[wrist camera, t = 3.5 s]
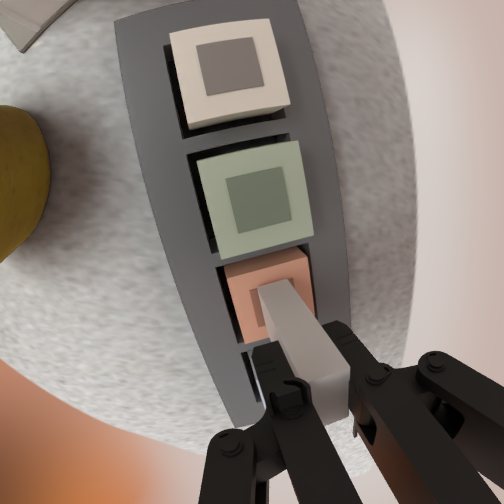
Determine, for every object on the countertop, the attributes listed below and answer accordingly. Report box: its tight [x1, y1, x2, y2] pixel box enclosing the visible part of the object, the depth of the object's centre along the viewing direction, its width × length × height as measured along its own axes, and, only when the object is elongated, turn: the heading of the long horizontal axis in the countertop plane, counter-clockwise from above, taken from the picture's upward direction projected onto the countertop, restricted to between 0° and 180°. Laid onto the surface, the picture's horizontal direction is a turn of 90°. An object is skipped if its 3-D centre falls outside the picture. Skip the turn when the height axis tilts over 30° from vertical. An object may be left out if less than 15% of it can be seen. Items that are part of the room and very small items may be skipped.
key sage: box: [197, 140, 314, 260], centre depth 13 cm, size 4×4×3 cm
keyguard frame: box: [114, 0, 351, 428], centre depth 15 cm, size 26×9×2 cm, turn 12°
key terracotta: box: [223, 246, 315, 344], centre depth 16 cm, size 4×4×3 cm
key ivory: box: [169, 19, 290, 130], centre depth 11 cm, size 4×4×3 cm
